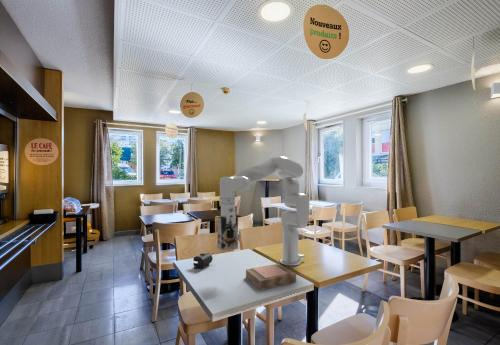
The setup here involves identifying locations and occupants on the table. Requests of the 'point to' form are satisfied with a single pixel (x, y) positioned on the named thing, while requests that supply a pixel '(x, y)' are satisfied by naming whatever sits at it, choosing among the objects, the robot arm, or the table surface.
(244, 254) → the table surface
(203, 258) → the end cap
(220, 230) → the coffee box
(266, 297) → the table surface
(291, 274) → the stand
